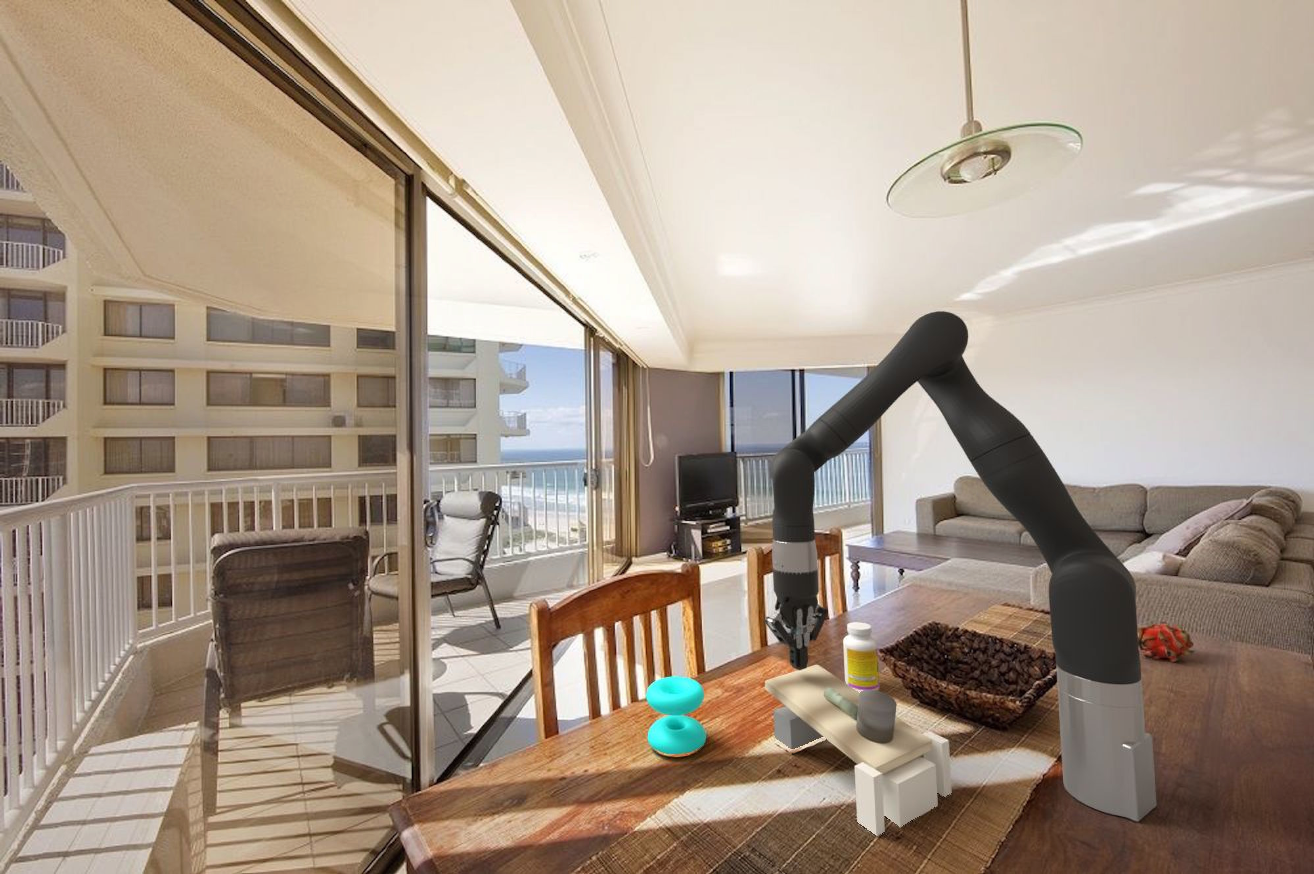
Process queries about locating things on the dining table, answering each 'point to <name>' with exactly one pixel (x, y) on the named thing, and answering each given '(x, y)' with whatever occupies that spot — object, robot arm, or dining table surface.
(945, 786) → the level stand
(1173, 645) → the dragon fruit
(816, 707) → the board
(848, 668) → the supplement bottle
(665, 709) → the donuts
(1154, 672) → the dining table surface
